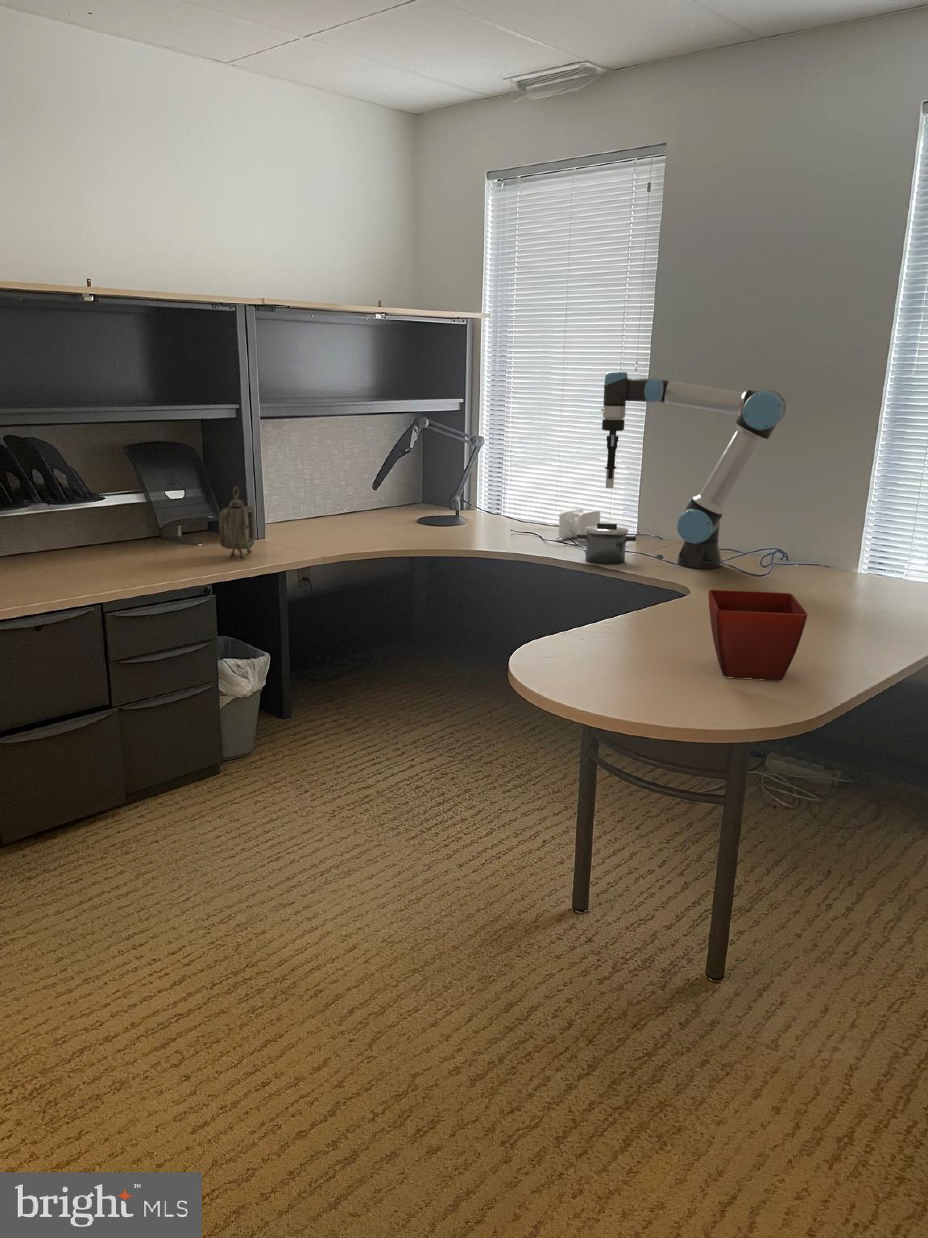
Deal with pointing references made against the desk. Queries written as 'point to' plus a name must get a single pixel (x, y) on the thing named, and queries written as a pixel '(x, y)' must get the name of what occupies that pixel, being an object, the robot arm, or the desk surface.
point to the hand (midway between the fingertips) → (609, 487)
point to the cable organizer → (576, 522)
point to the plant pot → (755, 632)
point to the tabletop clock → (237, 526)
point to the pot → (605, 548)
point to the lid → (606, 529)
